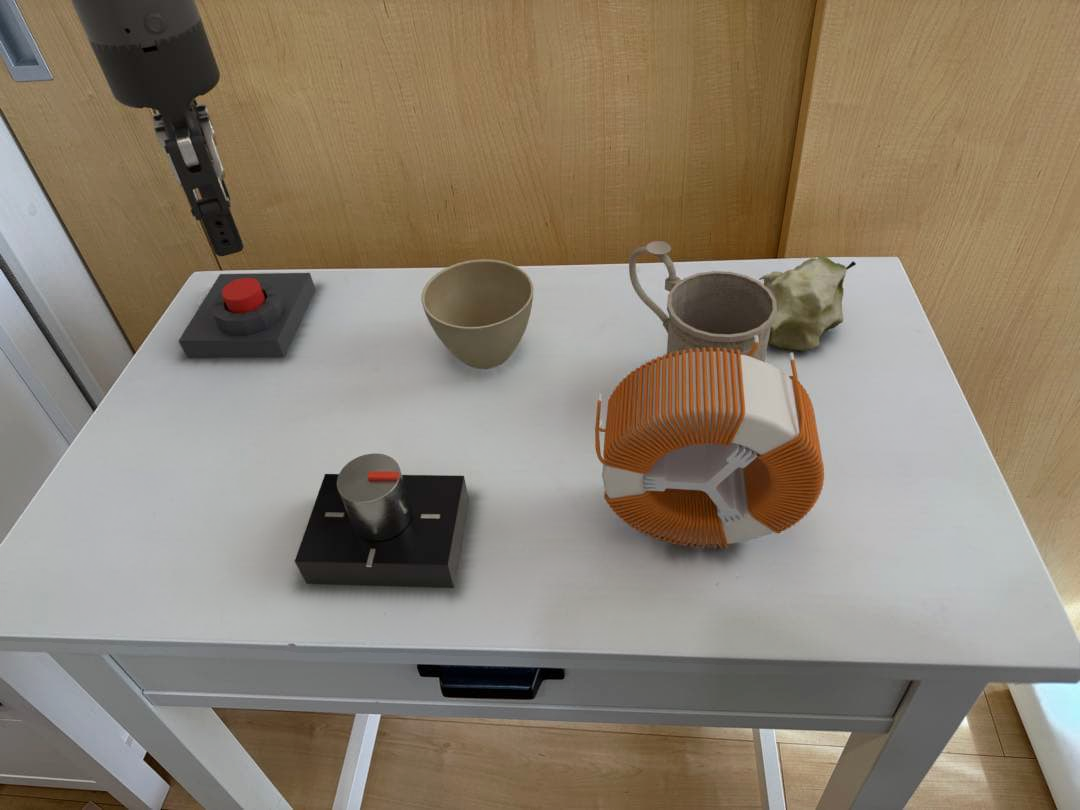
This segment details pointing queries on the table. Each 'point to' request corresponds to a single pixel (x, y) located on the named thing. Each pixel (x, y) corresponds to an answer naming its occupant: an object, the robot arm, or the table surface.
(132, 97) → the robot arm
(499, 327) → the bowl
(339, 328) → the table surface
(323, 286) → the table surface
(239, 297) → the button
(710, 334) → the mug
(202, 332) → the button block
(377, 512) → the timer knob
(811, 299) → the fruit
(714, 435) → the coil
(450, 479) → the timer panel
